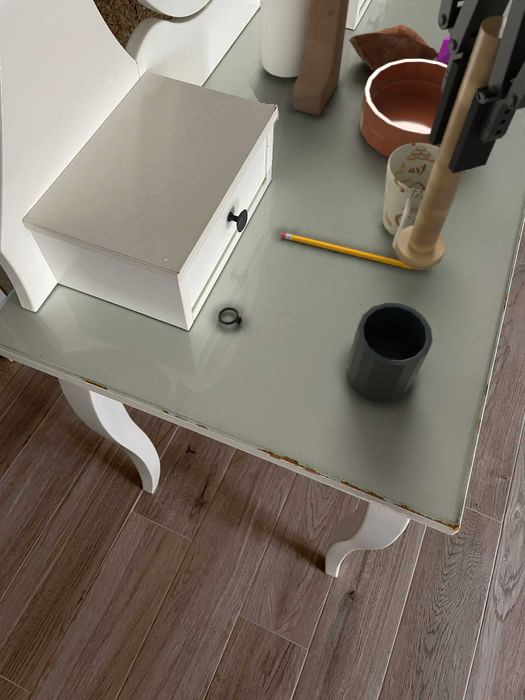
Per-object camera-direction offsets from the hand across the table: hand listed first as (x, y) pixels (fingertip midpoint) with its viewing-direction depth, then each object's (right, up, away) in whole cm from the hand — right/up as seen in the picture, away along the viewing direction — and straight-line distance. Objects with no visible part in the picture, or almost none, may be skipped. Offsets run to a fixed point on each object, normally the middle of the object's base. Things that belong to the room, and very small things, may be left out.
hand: (456, 151), depth 43 cm
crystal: (+17, +33, +53) cm, 65 cm away
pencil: (-3, -2, +34) cm, 34 cm away
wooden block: (-6, +25, +49) cm, 55 cm away
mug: (+4, +1, +35) cm, 35 cm away
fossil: (+6, +31, +52) cm, 61 cm away
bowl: (+8, +19, +45) cm, 50 cm away
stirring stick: (0, -6, +10) cm, 12 cm away
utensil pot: (-1, -17, +25) cm, 30 cm away
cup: (-11, +31, +52) cm, 62 cm away
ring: (-18, -11, +28) cm, 35 cm away
